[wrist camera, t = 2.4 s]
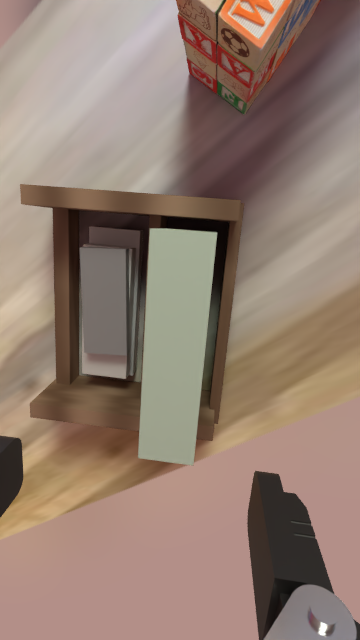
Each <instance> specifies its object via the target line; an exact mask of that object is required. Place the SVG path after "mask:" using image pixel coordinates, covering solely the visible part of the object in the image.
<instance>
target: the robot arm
mask: <svg viewBox="0 0 360 640" xmlns="http://www.w3.org/2000/svg"><path fill="white" fill-rule="evenodd" d="M22 482H23V460H22V443H21V440H20V439H19V438H14V437H6V436H0V517H1V516H2V515H3V513H4V512H5V511H6V509H7V508H8V507H9V505H10V504H11V503H12V501H13V500H14V499H15V497H16V496H17V494H18V493H19V491H20V488H21V485H22ZM248 537H249V547H250V557H251V566H252V576H253V585H254V595H255V604H256V614H257V623H258V633H259V640H360V624H359V623H358V622H356V621H355V620H354V619H353V617H352V615H351V613H350V611H349V610H348V609H347V607H346V606H345V604H344V603H343V602H342V601H341V600H340V599H339V598H338V597H337V596H336V595H335V594H334V592H333V589H332V586H331V583H330V580H329V577H328V574H327V570H326V568H325V564H324V561H323V558H322V555H321V552H320V549H319V546H318V543H317V540H316V539H315V533H314V530H313V527H312V526H311V521H310V518H309V515H308V511H307V509H306V507H305V506H304V504H303V503H302V502H301V500H300V499H299V498H298V497H297V495H296V494H294V493H287V492H283V488H282V484H281V480H280V476H279V474H274V473H267V472H259V471H255V473H254V478H253V483H252V490H251V496H250V502H249V509H248Z"/></svg>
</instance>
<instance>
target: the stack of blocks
mask: <svg viewBox="0 0 360 640" xmlns="http://www.w3.org/2000/svg"><path fill="white" fill-rule="evenodd" d="M176 1H177V6H178V10H179V13H178V20H179V26H180V31H181V35H182V39H183V41H184V45H185V50H186V55H187V63H188V68H189V73H190V74H191V75H192V76H194V77H195V78H196V79H198V80H199V81H200V82H202V83H203V84H204V85H205V86H207V87H208V88H209V89H211V90H212V91H213V92H215V93H216V94H218V95H220V96H221V97H222V98H223V99H225V100H226V101H227V102H229V103H230V104H231V105H232V106H234V107H235V108H236V109H238V110H239V111H240V112H241V113H243V114H246V112H247V111H248V109H249V108H250V106H251V105H252V103H253V102H254V100H255V99H256V97H257V96H258V94H259V93H260V91H261V90H262V88H263V87H264V85H265V84H266V83H267V82H268V81H269V80H270V78H271V77H272V75H273V74H274V72H275V71H276V69H277V68H278V66H279V65H280V63H281V62H282V60H283V59H284V57H285V56H286V54H287V53H288V51H289V49H290V48H291V47H292V45H293V44H294V42H295V41H296V40H297V38H298V37H299V35H300V34H301V32H302V31H303V29H304V28H305V26H306V25H307V23H308V22H309V20H310V19H311V17H312V15H313V14H314V11H315V9H316V7H317V6H318V4H319V2H320V1H321V0H176Z"/></svg>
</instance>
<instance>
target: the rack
mask: <svg viewBox="0 0 360 640" xmlns="http://www.w3.org/2000/svg"><path fill="white" fill-rule="evenodd" d="M20 189H21V204H25V205H33V206H41V207H49V208H53V242H54V291H55V339H56V379H55V380H54V381H53V382H52V383H51V384H50V385H49V386H48V387H47V388H46V389H45V390H44V391H42V392H41V393H40V394H39V395H38V396H37V397H36V398H35V399H34V400H33V401H32V402H31V403H30V417H33V418H40V419H48V420H56V421H63V422H71V423H79V424H86V425H94V426H102V427H109V428H117V429H125V430H132V431H139V430H140V410H141V391H142V374H141V383H139V382H131V381H123V380H114V379H106V378H97V377H89V376H80V375H79V210H81V211H93V212H106V213H119V214H132V215H145V216H150V217H149V236H150V228H162V229H167V217H171V218H183V219H196V220H209V221H222V222H229V225H228V234H227V243H226V252H225V261H224V270H223V279H222V288H221V298H220V307H219V316H218V325H217V334H216V343H215V352H214V361H213V370H212V379H211V388H210V391H207V390H201V397H200V406H199V416H198V426H197V435H196V439H201V440H209V441H212V440H213V432H214V423H215V424H218V418H219V410H220V402H221V393H222V385H223V377H224V368H225V360H226V352H227V343H228V335H229V327H230V318H231V310H232V302H233V293H234V285H235V277H236V268H237V260H238V252H239V243H240V235H241V227H242V218H243V210H244V203H240V201H241V200H231V199H217V198H203V197H189V196H175V195H162V194H148V193H134V192H120V191H106V190H92V189H79V188H65V187H51V186H37V185H23V184H20ZM148 255H149V237H148ZM147 275H148V257H147ZM146 294H147V276H146ZM145 314H146V296H145ZM144 333H145V315H144ZM143 352H144V335H143ZM142 372H143V355H142Z"/></svg>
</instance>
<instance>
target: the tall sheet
mask: <svg viewBox="0 0 360 640" xmlns="http://www.w3.org/2000/svg"><path fill="white" fill-rule="evenodd" d="M216 240H217V232H213V231H201V230H188V229H162V228H150V236H149V255H148V275H147V294H146V314H145V333H144V352H143V372H142V391H141V410H140V430H139V449H138V458H141V459H149V460H156V461H163V462H170V463H178V464H185V465H192V466H193V464H194V455H195V445H196V435H197V426H198V416H199V406H200V397H201V387H202V377H203V367H204V358H205V348H206V338H207V328H208V319H209V309H210V299H211V289H212V279H213V270H214V260H215V250H216Z"/></svg>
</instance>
